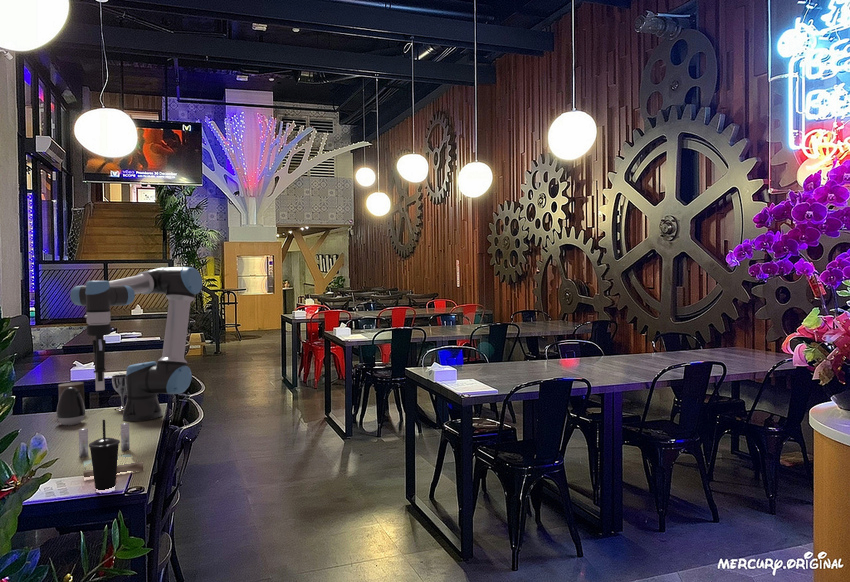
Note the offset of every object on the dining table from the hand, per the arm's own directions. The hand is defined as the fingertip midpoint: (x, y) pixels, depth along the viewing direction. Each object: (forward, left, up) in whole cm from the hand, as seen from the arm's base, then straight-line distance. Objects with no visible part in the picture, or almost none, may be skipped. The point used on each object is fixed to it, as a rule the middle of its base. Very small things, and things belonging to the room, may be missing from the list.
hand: (100, 390), depth 219 cm
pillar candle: (+7, -59, -20) cm, 63 cm away
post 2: (-6, +13, -19) cm, 24 cm away
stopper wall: (0, +41, -19) cm, 45 cm away
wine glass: (-13, -61, -20) cm, 65 cm away
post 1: (+6, +13, -19) cm, 24 cm away
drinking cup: (+4, +55, -20) cm, 58 cm away
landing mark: (0, +27, -19) cm, 33 cm away
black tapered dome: (+8, -41, -20) cm, 46 cm away
